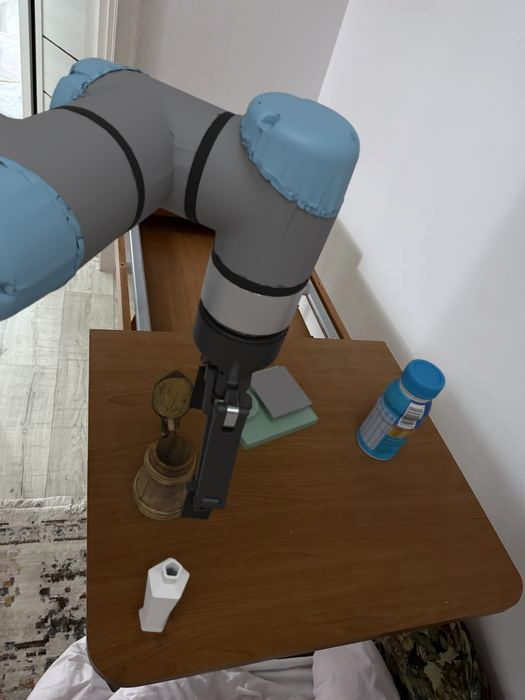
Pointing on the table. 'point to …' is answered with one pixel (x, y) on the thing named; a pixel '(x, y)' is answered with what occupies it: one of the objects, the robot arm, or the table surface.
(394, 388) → the beverage bottle
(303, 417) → the scale
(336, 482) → the table surface
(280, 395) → the scale plate
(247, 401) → the tare button
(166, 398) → the wooden mug
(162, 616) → the white faceted vase
